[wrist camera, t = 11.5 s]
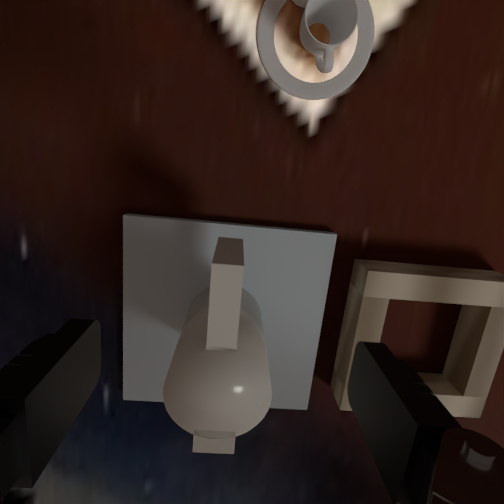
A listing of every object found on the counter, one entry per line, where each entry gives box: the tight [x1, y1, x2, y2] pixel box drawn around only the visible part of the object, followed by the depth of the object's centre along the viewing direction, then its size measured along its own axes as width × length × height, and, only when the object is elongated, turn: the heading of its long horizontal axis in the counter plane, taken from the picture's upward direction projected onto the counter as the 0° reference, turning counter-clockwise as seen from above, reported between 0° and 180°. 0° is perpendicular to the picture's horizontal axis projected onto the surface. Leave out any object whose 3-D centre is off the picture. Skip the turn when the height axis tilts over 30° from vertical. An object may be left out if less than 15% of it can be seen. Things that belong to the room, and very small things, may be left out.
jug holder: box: [330, 259, 504, 418], centre depth 28 cm, size 12×12×3 cm
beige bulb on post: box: [163, 237, 272, 454], centre depth 23 cm, size 12×6×9 cm, turn 175°
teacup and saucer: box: [257, 0, 374, 100], centre depth 21 cm, size 9×8×4 cm
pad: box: [123, 213, 337, 410], centre depth 28 cm, size 16×16×1 cm
